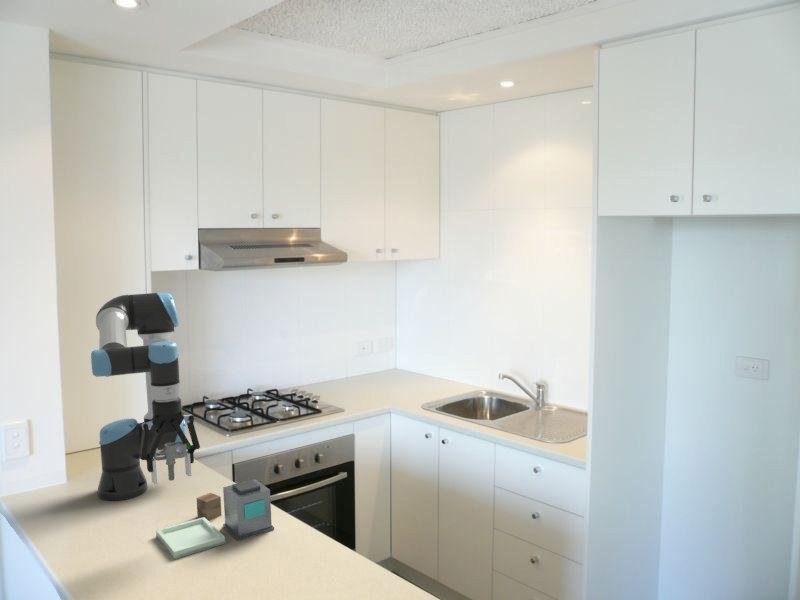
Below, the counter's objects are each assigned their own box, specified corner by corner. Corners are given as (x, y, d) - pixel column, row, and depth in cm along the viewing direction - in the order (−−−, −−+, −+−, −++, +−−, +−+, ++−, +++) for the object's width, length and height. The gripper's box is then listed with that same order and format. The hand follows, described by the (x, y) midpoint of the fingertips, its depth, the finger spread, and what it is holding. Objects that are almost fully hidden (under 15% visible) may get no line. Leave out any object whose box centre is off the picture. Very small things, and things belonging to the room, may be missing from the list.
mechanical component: (152, 480, 195) (150, 444, 194) (190, 475, 198) (189, 440, 197) (152, 483, 192) (150, 448, 191) (191, 479, 196) (189, 443, 194)
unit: (222, 526, 206) (220, 483, 204) (258, 516, 212) (255, 474, 210) (237, 540, 197) (235, 496, 195) (274, 529, 203) (272, 486, 201)
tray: (156, 536, 200) (156, 530, 200) (204, 523, 208) (204, 516, 208) (174, 559, 187) (174, 552, 187) (225, 543, 195) (224, 536, 195)
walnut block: (197, 516, 213) (196, 497, 212) (211, 511, 217) (210, 492, 216) (207, 521, 210) (206, 502, 209) (221, 515, 213) (220, 496, 213)
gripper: (128, 408, 184) (134, 491, 186) (209, 395, 195) (214, 474, 198) (122, 402, 190) (128, 483, 192) (200, 390, 201) (205, 466, 204)
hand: (171, 478), depth 195 cm, fingers closed on mechanical component, 9 cm apart
